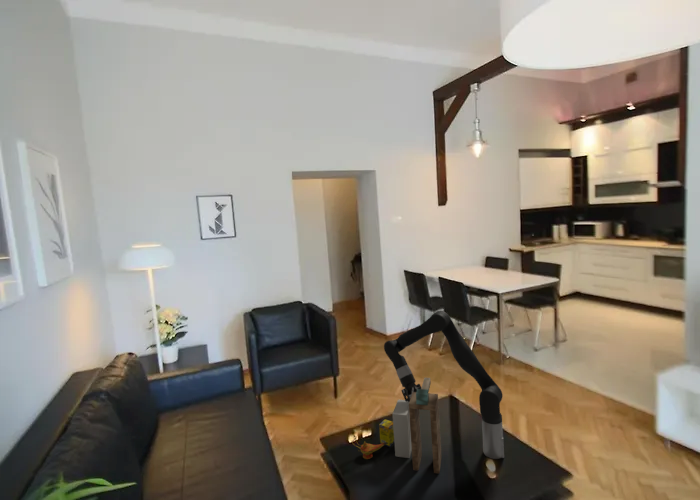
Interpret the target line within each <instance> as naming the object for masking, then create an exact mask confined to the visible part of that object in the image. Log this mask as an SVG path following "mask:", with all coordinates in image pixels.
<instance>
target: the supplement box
mask: <svg viewBox="0 0 700 500" xmlns="http://www.w3.org/2000/svg"><path fill="white" fill-rule="evenodd" d="M378 427H379V442H380V443H379V444H381V443H385V442H387V443H388V444H386V445H384V446H385V447H387V448H391V447H392V445H393V444H395V443H394V429H393V420H388V419H384V420H382V421H381V422H380V423H379V424H378Z"/></svg>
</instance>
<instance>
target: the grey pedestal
mask: <svg viewBox="0 0 700 500" xmlns="http://www.w3.org/2000/svg"><path fill="white" fill-rule="evenodd" d="M392 422H393V429H394V443H393V444H394V452H395V453H394V455H395V456H394V457H399V458H405V459H410V458H411V455H412V446H411V431H410V415H409V402H408V401H407V402H406V401H405V399H397V401H396V404H395V406H394V409H393V412H392Z"/></svg>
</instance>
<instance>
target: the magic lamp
mask: <svg viewBox="0 0 700 500" xmlns="http://www.w3.org/2000/svg"><path fill="white" fill-rule="evenodd" d="M352 438H353V440H352V442H351V443H352V445H353V446H354V447H357V448H358V449H359V451H360V453H362V458H363V459H364V460H370V459H372V458H373V453H374V452H376V451H378V450H380V449H381V448H382V447H384V446H385V445H386V444H388V443H387V442H385V443H381V444H380V443H379V444H373V443H367V442H366V441H364V442H363V443H362V444H359V443H358V441H357V436H356V435H355V434H353V436H352ZM354 441H355V442H356V444H357V445H356V444H355V443H354Z"/></svg>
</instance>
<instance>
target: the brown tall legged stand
mask: <svg viewBox="0 0 700 500" xmlns="http://www.w3.org/2000/svg"><path fill="white" fill-rule="evenodd" d="M428 394H429V402H428V405H419V404H416V392H413V393H412V396H411V399H410V402H409V415H410V431H411V446H412V450H411V457H412V458H411V459H412V469H413V471H419V469H420V467H421V466H420V465H421V460H422V455H423V452H422V451H423V450H422V434H421V433H422V432H421V420H420V410H424V411H429V416H430V431H431V447H432V448H431V449H432V451H431V452H432V464H433V466H432V467H433V474H440V473H441V472H440V471H441V466H442V465H441V464H442V440H441V425H440V424H441V423H440V408H439V394H438V393H433V392H431V393H430V392H428Z"/></svg>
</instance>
